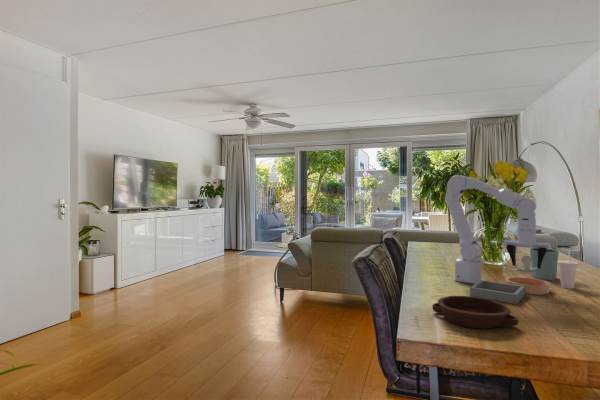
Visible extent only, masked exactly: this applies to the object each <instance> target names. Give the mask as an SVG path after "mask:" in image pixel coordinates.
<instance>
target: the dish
mask: <svg viewBox="0 0 600 400" xmlns="http://www.w3.org/2000/svg"><path fill="white" fill-rule="evenodd" d="M431 306H432V310H433V312H435V313H437V314H440V315H442V316H443V317H444V318H445V319H446V320H448V321H449V322H450V323H453V324H455V325H458V326H461V327H465V328H471V329H480V330H481V329H482V330H483V329H493V328H498V327H500V326H515V327H516V326H518V325H519V322H520V321H519V317H516V316H514V315H512V314H511V313H512V310H511V309H510V308H509V307H508V306H506V304H503V303H501V302H500V301H496V300H491V299H485V298H479V297H474V296H470V295H469V296H468V295H449V296H444V297H440V298H439V299H438V300H437V302H435V303H432V305H431Z"/></svg>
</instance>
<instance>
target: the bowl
mask: <svg viewBox="0 0 600 400" xmlns="http://www.w3.org/2000/svg"><path fill="white" fill-rule="evenodd" d="M504 283H505V284H512V285H519V286H525V295H526V294H528V295H547V294H549V293H550V291H551V288H550V287H551V286H550V285H551V284H550V282H548V281H546V280H544V279H537V278H534V277H525V276H508V277H506V278H504Z"/></svg>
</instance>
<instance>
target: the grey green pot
mask: <svg viewBox="0 0 600 400" xmlns="http://www.w3.org/2000/svg"><path fill="white" fill-rule="evenodd" d="M538 249H539V248H529V253H530V254H529V255H530V256H529V257H530V258H531V263H530V268H531V269H532V268H537V265H538V251H537V250H538ZM559 252H560V251H559V250H558V249H554V248H551V249H548V250H547V252H546V254H545V256H544V258H543V260H542V263H541V268H540V269H539V268H538V269H536V270H533V271H534V272H536V273H535V274H531V278H535V279H539V280H544V281H546V280H547V281H554V279H555V280H556V279H557V274H558V271H557V270H558V264H557V261H559Z"/></svg>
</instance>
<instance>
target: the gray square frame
mask: <svg viewBox="0 0 600 400" xmlns="http://www.w3.org/2000/svg"><path fill="white" fill-rule="evenodd" d="M469 296H470V297H478V298H484V299H489V300H493V301H496V302H502V303H508V304H509V303H510V304H513V305H517V304H518V303H520V301H521V300H522V299H523V298H524V297H525V296H526V293H525V286H519V285H512V284H505V282H498V281H492V280H485V279H483V280H481V281H479V282H478V283H476V284H472V286H470V287H469Z"/></svg>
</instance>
